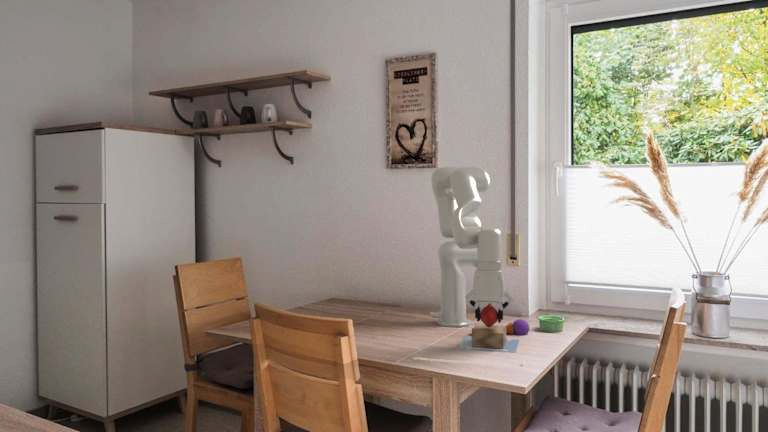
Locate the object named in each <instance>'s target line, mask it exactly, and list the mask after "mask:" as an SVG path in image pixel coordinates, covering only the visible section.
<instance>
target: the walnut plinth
mask: <svg viewBox="0 0 768 432" xmlns="http://www.w3.org/2000/svg"><path fill="white" fill-rule="evenodd" d="M473 328H474V329H473V330H472V329H471V337H472V347H480V348H494V349H504V346H505V343H506V339H507V333H506V325H504V326H502V325H492V326H491V327H487V326H486V325H485V324H475V326H474V327H473Z"/></svg>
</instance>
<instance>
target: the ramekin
mask: <svg viewBox="0 0 768 432" xmlns="http://www.w3.org/2000/svg"><path fill="white" fill-rule="evenodd" d="M564 321H565V318H564V317H562V316H558V315H541V316H539V317H538V323H539V329H540V331H542V332H547V333H560V332H562V331H563V329H564V323H565V322H564Z"/></svg>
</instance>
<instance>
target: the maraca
mask: <svg viewBox="0 0 768 432" xmlns="http://www.w3.org/2000/svg"><path fill="white" fill-rule="evenodd" d="M505 326H506V334H507V335H520V336H526V335H528V333H529V332H530V325H529V323H528V322H527V321H526V320H525V319H522V318H518V319H515V320H514V321H513V322H510V323H507V325H505ZM473 329H474V327H472V329H471V331H472V330H473Z"/></svg>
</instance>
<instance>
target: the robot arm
mask: <svg viewBox="0 0 768 432" xmlns="http://www.w3.org/2000/svg"><path fill="white" fill-rule="evenodd" d="M490 184H491V179H490V175H489V173H488V172H487V171H486V170H485V169H483V168H478V167H471V166H470V167H468V166H465V167H463V166H447V167H446V166H445V167H443V166H442V167H439V168H436V169H435V170H434V171H433V172H432V174H431V188H432V193H433V195H434V198H435V200H436V206H437V215H438V223H439V231H440V234H441V236H442V237H444V238H445V239H446V238H447V239H453V240H454V241H453V240H452V241H446V242H443V243H441V244H440V245H439V246H438V253H437V255H438V261H439V269H440V311H437V312H436V311H430V312H429V317H431V318H433V319H434V318H435V319H436V318H437V320H436V324H438V326H441V327H447V328H460V327H462V328H463V327H467V326H469V325H471V320H470V319H467V302H469V304H470V305H471V306H472V307H473V308H474V310H475V311H474V317H475V319H476V321H477V322H480V321H481V319H480V314H481V307H480V306H481V305H480V304H481V302H483V303H497V306H498V311H497V312H498V320H497V323H499V324H500V323H501V322H502V321H504V310H505V309H506V308H507V307H508V306H509V305H510V304H511V303H512V302H513V301H514V297H513V296H512V295H511V294H510V293H509V292H508V291H507V290H506V283H505V275H504V270H502V232H501V230H500V229H498V228H496V227H495V228H493V227H492V226H489V225H488V226H487V225H486V226H485V225H483V226H482V222H481V220H480V218H479V216H478V215H477V214H476V213H475V212H477V211H478V210H479V209H480V207H481V205H482V199H481V197H480V194H479V193H480V192H481V193H484V192H487V191H488V190H489V188H490V186H491V185H490ZM469 266H470V267H475V268H476V269H475V270H474V272H473V273H474V274H473V283H472V289H471V290H470V291H469V292H468V293H467V279H466V275H465V274H464V272H463V271H462V270H461V268H460V267H469ZM506 298H507V300H505V299H506ZM503 302H504V303H503Z"/></svg>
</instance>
